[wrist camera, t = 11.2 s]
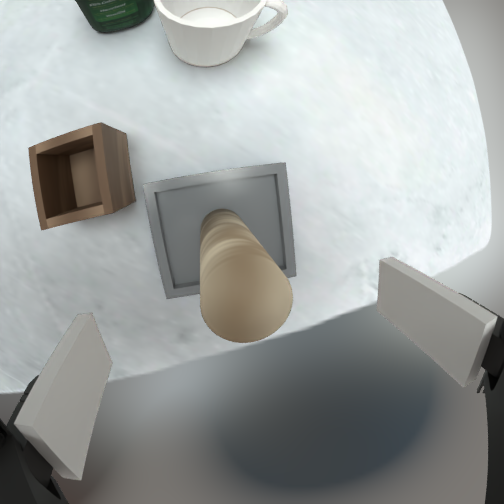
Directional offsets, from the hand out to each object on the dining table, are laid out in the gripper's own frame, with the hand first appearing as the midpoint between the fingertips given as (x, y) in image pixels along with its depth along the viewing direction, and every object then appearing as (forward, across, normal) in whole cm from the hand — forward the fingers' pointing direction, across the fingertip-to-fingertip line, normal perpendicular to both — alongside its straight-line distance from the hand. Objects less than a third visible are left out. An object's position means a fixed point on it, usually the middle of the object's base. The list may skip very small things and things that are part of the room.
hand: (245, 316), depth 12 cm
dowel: (+18, +1, 0) cm, 19 cm away
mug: (+20, +3, +21) cm, 28 cm away
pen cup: (+19, -11, +8) cm, 24 cm away
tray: (+19, +1, 0) cm, 19 cm away
